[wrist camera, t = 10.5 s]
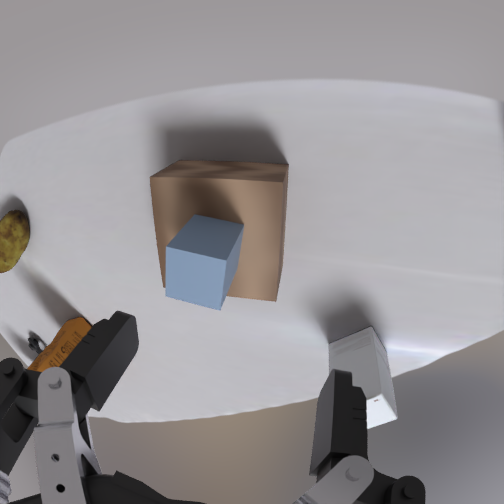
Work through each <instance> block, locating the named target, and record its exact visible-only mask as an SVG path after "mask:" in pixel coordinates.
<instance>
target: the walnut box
mask: <svg viewBox="0 0 504 504" xmlns="http://www.w3.org/2000/svg"><path fill="white" fill-rule="evenodd" d="M288 167H289V164H274V163H257V162H234V161H190V160H179V161H177V162H175V163H174V164H172V165H170V166H168V167H166V168H165V169H163V170H161V171H159V172H158V173H156V174H154V175H153V176H151V177H150V186H151V196H152V206H153V215H154V224H155V232H156V240H157V247H158V255H159V262H160V269H161V275H162V282H163V287H164V288H166V246H167V245H168V244H169V243H170V241H171V240H172V239H173V238H174V237H175V236H176V235H177V233H178V232H179V231H180V230H181V229H182V228H183V227H184V226H185V225H186V223H187V222H188V221H189V220H190V219H191V218H192V217H193V216H194V215H195V214H196V215H201V216H205V217H210V218H215V219H220V220H225V221H229V222H234V223H239V224H243V225H244V231H243V237H242V243H241V249H240V256H239V262H238V268H237V271H236V273H235V276H234V278H233V281H232V283H231V285H230V288H229V290H228V293H227V295H226V296H231V297H240V298H248V299H257V300H266V301H275V302H276V299H277V294H278V288H279V283H280V277H281V272H282V266H283V253H284V238H285V222H286V205H287V187H288Z"/></svg>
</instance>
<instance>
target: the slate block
mask: <svg viewBox="0 0 504 504" xmlns="http://www.w3.org/2000/svg"><path fill="white" fill-rule="evenodd" d="M243 231H244V225H243V224H239V223H234V222H229V221H225V220H220V219H215V218H210V217H205V216H201V215H196V214H195V215H194V216H193V217H192V218H191V219H190V220H189V221H188V222H187V223H186V225H185V226H184V227H183V228H182V229H181V230H180V231H179V232H178V233H177V235H176V236H175V237H174V238H173V239H172V240H171V241H170V243H169V244H168V245H167V246H166V296H167V297H171V298H174V299H178V300H182V301H185V302H189V303H193V304H197V305H201V306H204V307H208V308H212V309H216V310H221V307H222V305H223V302H224V300H225V297H226V295H227V293H228V290H229V288H230V285H231V283H232V281H233V278H234V276H235V273H236V271H237V268H238V262H239V256H240V249H241V243H242V237H243Z"/></svg>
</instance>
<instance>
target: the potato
mask: <svg viewBox="0 0 504 504" xmlns="http://www.w3.org/2000/svg"><path fill="white" fill-rule="evenodd" d="M29 236H30V230H29V224H28V220H27V218H26V216H25V215H24V213H23V212H22V211H20V210H12V211H9V212H8V213H7V214H6V215H5V216H4V217H3V218H2V219H1V221H0V273H4V272H6V271H9V270H10V269H12V268H13V267H14V266H15V264H16V263H17V262H18V260H19V259H20V257H21V255H22V253H23V252H24V251H25V249H26V247H27V245H28V242H29Z"/></svg>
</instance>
